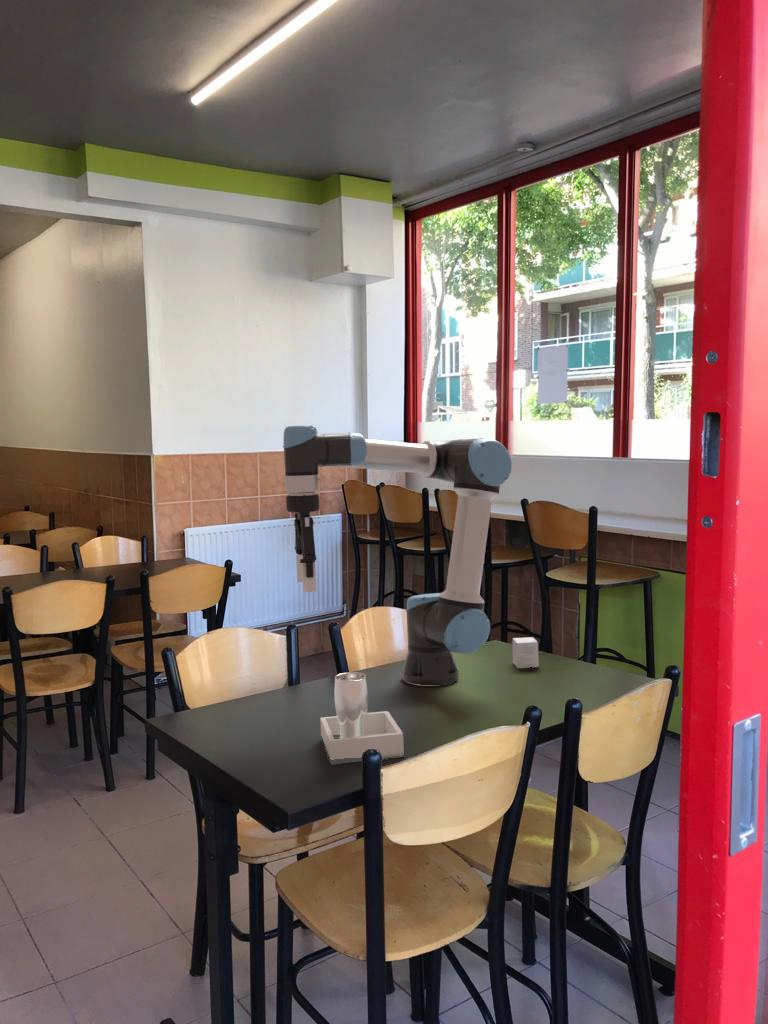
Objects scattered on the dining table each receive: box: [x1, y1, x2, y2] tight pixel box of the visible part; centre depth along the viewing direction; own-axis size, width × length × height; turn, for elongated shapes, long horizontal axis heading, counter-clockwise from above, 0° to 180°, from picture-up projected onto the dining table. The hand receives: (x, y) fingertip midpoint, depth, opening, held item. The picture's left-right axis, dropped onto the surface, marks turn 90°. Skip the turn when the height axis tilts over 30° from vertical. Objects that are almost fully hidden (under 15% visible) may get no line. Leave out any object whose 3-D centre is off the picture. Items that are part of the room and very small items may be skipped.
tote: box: [319, 710, 405, 761], centre depth 178 cm, size 15×15×5 cm
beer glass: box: [333, 671, 369, 739], centre depth 176 cm, size 7×7×15 cm
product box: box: [512, 636, 540, 669], centre depth 238 cm, size 6×6×7 cm
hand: (306, 586), depth 194 cm, fingers open, 13 cm apart
